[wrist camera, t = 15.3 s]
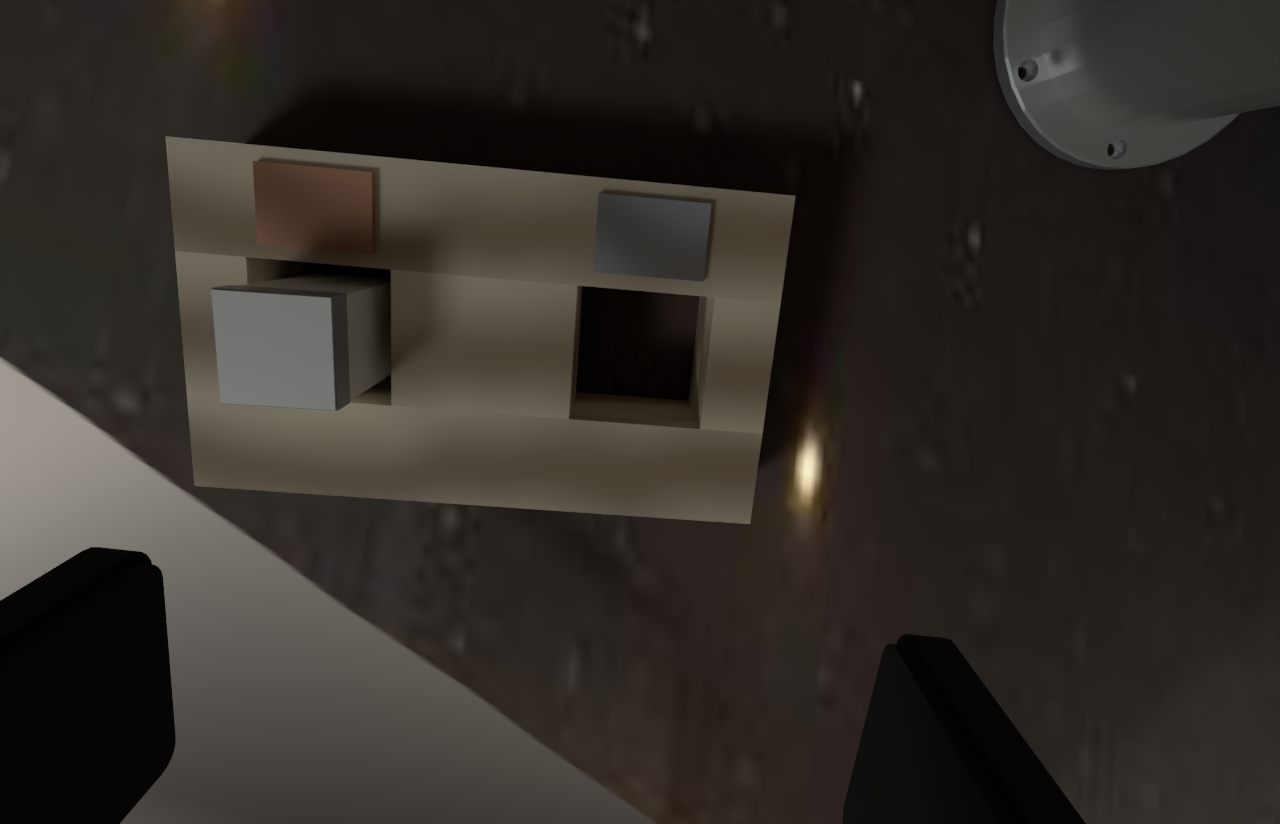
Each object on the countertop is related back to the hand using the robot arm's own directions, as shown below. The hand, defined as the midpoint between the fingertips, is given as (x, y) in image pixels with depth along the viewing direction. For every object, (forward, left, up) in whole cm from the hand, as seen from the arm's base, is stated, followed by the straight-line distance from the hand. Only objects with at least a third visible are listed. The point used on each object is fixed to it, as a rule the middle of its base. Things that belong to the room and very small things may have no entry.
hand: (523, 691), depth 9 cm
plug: (-1, -11, -25) cm, 28 cm away
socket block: (-1, -4, -25) cm, 26 cm away
